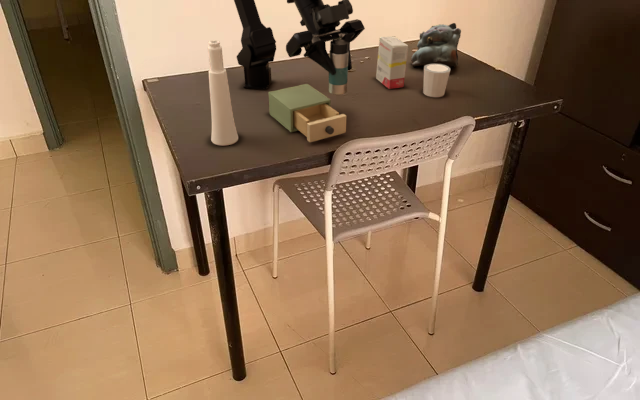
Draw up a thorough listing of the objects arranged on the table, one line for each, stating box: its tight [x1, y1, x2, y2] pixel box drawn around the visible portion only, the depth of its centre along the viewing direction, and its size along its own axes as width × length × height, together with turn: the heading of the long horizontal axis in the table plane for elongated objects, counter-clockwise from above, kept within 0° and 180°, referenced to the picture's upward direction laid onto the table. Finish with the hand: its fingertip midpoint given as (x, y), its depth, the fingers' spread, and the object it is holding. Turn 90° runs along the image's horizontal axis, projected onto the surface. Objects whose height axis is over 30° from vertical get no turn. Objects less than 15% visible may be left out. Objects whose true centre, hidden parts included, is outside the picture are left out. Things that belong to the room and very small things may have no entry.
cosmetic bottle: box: [207, 39, 239, 147], centre depth 107 cm, size 6×6×22 cm
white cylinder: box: [422, 64, 451, 98], centre depth 134 cm, size 7×7×7 cm
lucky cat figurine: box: [410, 22, 462, 68], centre depth 150 cm, size 15×12×14 cm
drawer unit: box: [268, 83, 332, 133], centre depth 121 cm, size 11×11×6 cm
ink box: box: [375, 36, 409, 90], centre depth 138 cm, size 9×5×12 cm, turn 19°
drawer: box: [293, 103, 347, 143], centre depth 115 cm, size 12×10×4 cm
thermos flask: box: [328, 39, 349, 96], centre depth 112 cm, size 4×4×11 cm
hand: (342, 71), depth 112 cm, fingers closed on thermos flask, 4 cm apart
